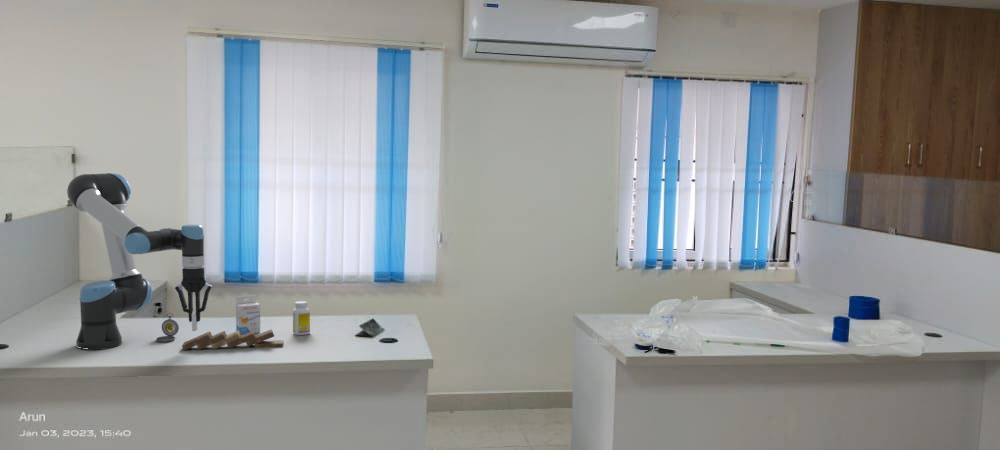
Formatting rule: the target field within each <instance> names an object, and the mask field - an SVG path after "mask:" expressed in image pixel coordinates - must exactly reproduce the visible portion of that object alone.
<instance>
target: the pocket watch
mask: <svg viewBox="0 0 1000 450" xmlns="http://www.w3.org/2000/svg"><path fill="white" fill-rule="evenodd" d="M170 314H171V315H170ZM166 317H167V318H168V319H165V320H164V321H163V322H162V324H161V330H162V333H164V335H162V336H159V337H156V339H155V340H156V342H160V343H167V342H172V341H174V340H175V339H176V337H175V335H177V334H178V332H179V329H180V326H179V323H178V322H177V321H176V320H174V319H172V317H174V313H171V312H168V313H166Z"/></svg>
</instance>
